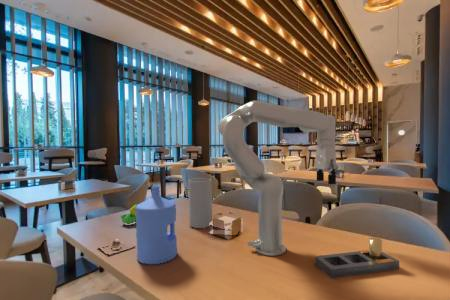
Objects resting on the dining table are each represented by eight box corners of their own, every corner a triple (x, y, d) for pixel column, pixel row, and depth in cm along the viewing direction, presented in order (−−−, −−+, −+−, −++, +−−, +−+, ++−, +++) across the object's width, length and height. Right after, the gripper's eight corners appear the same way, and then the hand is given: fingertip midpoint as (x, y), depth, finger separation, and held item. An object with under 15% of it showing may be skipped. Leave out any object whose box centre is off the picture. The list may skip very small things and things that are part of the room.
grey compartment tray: (331, 278, 84) (331, 269, 84) (315, 264, 94) (315, 255, 94) (399, 269, 89) (399, 260, 89) (376, 256, 99) (376, 248, 99)
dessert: (96, 249, 112) (96, 239, 112) (123, 241, 121) (123, 231, 121) (108, 258, 104) (107, 246, 104) (136, 248, 113) (135, 237, 113)
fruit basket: (137, 219, 154) (136, 200, 153) (146, 222, 148) (146, 202, 148) (119, 225, 144) (119, 205, 144) (129, 227, 139) (128, 207, 139)
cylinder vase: (216, 223, 143) (215, 178, 142) (203, 230, 132) (202, 182, 131) (199, 220, 150) (198, 177, 149) (184, 226, 139) (183, 180, 138)
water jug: (140, 269, 93) (138, 192, 92) (134, 253, 107) (132, 186, 106) (182, 259, 100) (180, 187, 99) (171, 245, 114) (169, 182, 113)
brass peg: (374, 267, 91) (374, 242, 91) (366, 262, 95) (366, 238, 94) (384, 266, 92) (384, 241, 91) (375, 261, 96) (375, 237, 95)
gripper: (308, 143, 121) (308, 179, 122) (328, 143, 104) (328, 185, 105) (323, 143, 123) (323, 179, 123) (345, 143, 105) (345, 185, 106)
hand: (325, 182), depth 114 cm, fingers open, 9 cm apart
